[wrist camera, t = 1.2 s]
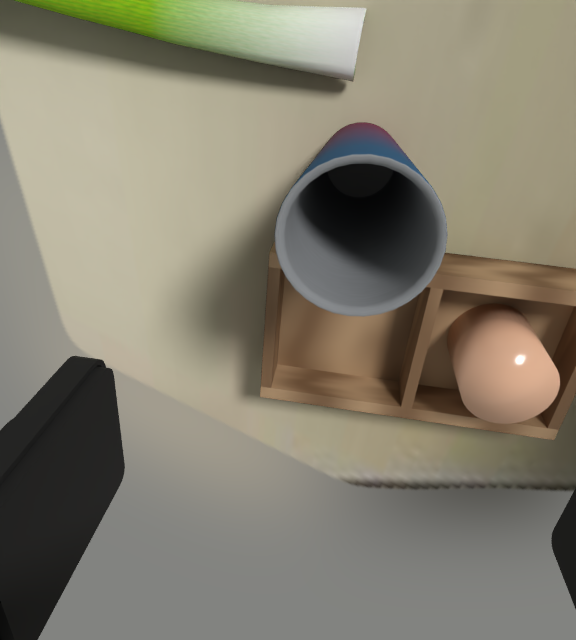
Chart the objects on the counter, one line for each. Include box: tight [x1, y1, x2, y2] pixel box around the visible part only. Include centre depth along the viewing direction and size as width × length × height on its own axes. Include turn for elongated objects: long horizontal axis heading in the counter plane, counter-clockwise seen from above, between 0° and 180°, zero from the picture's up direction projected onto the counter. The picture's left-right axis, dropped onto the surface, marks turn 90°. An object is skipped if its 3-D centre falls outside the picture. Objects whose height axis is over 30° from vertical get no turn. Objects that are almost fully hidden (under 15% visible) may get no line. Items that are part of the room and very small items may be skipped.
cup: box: [275, 122, 447, 317], centre depth 26 cm, size 7×7×15 cm
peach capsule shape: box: [447, 303, 560, 424], centre depth 34 cm, size 6×6×6 cm
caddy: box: [260, 241, 576, 440], centre depth 36 cm, size 22×12×4 cm, turn 85°
